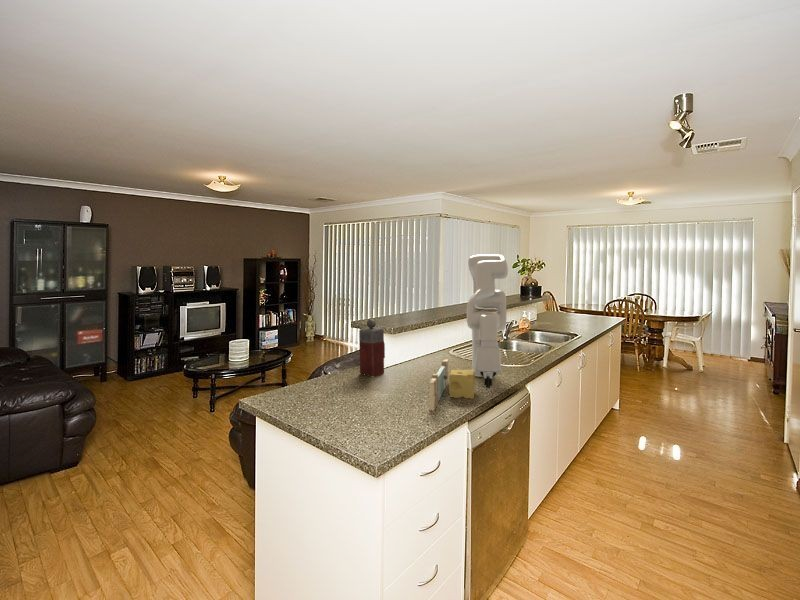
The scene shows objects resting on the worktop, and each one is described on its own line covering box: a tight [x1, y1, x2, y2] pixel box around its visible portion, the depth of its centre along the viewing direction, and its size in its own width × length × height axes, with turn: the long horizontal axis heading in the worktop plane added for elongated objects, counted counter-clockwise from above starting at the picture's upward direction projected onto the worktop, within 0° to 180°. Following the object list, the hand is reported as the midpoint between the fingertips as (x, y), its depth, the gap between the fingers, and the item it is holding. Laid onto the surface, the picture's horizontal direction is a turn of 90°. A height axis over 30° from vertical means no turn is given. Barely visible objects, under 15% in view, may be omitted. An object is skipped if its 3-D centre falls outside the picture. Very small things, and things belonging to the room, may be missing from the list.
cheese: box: [448, 369, 476, 400], centre depth 183 cm, size 10×11×10 cm
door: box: [436, 365, 447, 402], centre depth 183 cm, size 20×4×10 cm, turn 166°
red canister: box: [358, 318, 386, 377], centre depth 219 cm, size 9×11×28 cm
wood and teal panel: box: [429, 358, 449, 412], centre depth 183 cm, size 40×2×12 cm, turn 166°
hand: (488, 387), depth 180 cm, fingers closed
